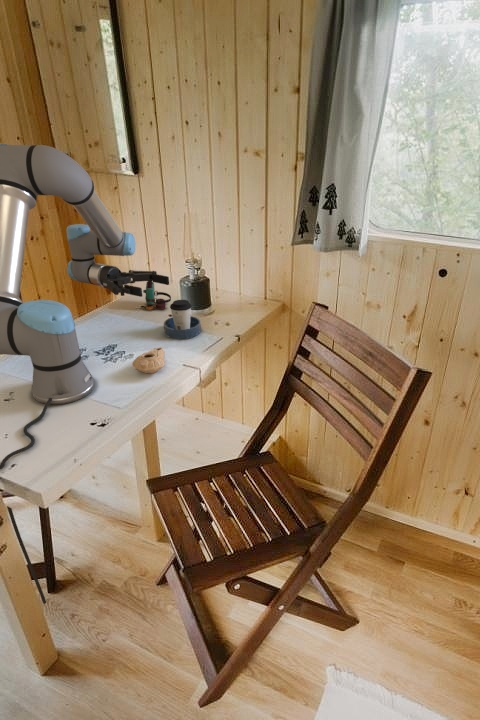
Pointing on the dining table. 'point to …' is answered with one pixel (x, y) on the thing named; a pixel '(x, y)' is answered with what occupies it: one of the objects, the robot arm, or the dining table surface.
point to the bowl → (183, 333)
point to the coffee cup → (181, 314)
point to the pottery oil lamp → (150, 361)
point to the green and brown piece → (151, 297)
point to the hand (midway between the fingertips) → (155, 286)
